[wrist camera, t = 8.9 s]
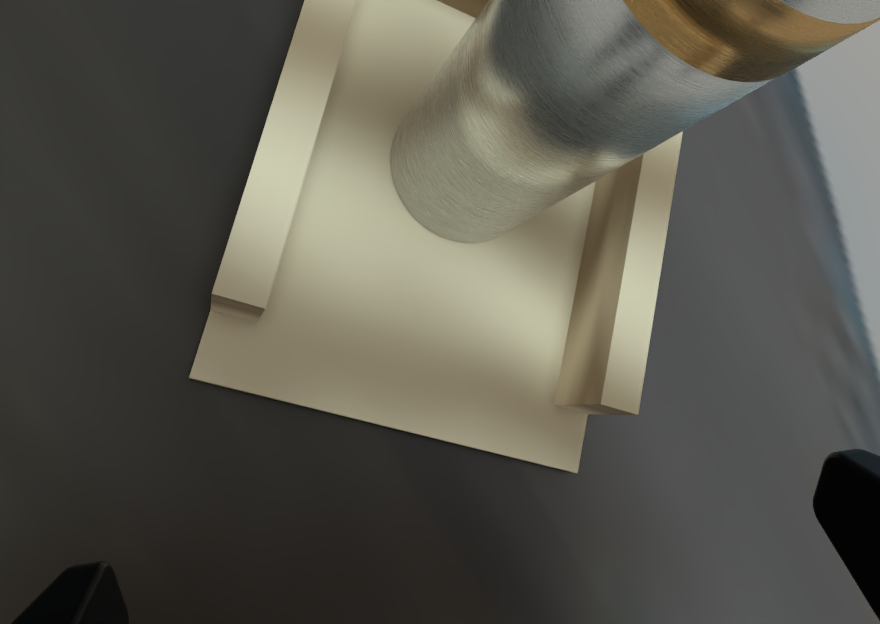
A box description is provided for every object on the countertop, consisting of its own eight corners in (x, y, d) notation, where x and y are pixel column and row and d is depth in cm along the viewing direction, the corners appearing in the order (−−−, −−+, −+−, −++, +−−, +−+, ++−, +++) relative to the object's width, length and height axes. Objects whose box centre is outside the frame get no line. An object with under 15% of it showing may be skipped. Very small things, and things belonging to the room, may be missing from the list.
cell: (541, 239, 20) (1099, -35, 8) (400, 248, 19) (821, -85, 6) (519, 98, 21) (1014, -377, 8) (380, 93, 19) (733, -509, 7)
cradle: (569, 471, 20) (627, 481, 17) (189, 378, 17) (186, 372, 14) (647, 28, 24) (706, -23, 21) (346, -120, 20) (369, -204, 18)
